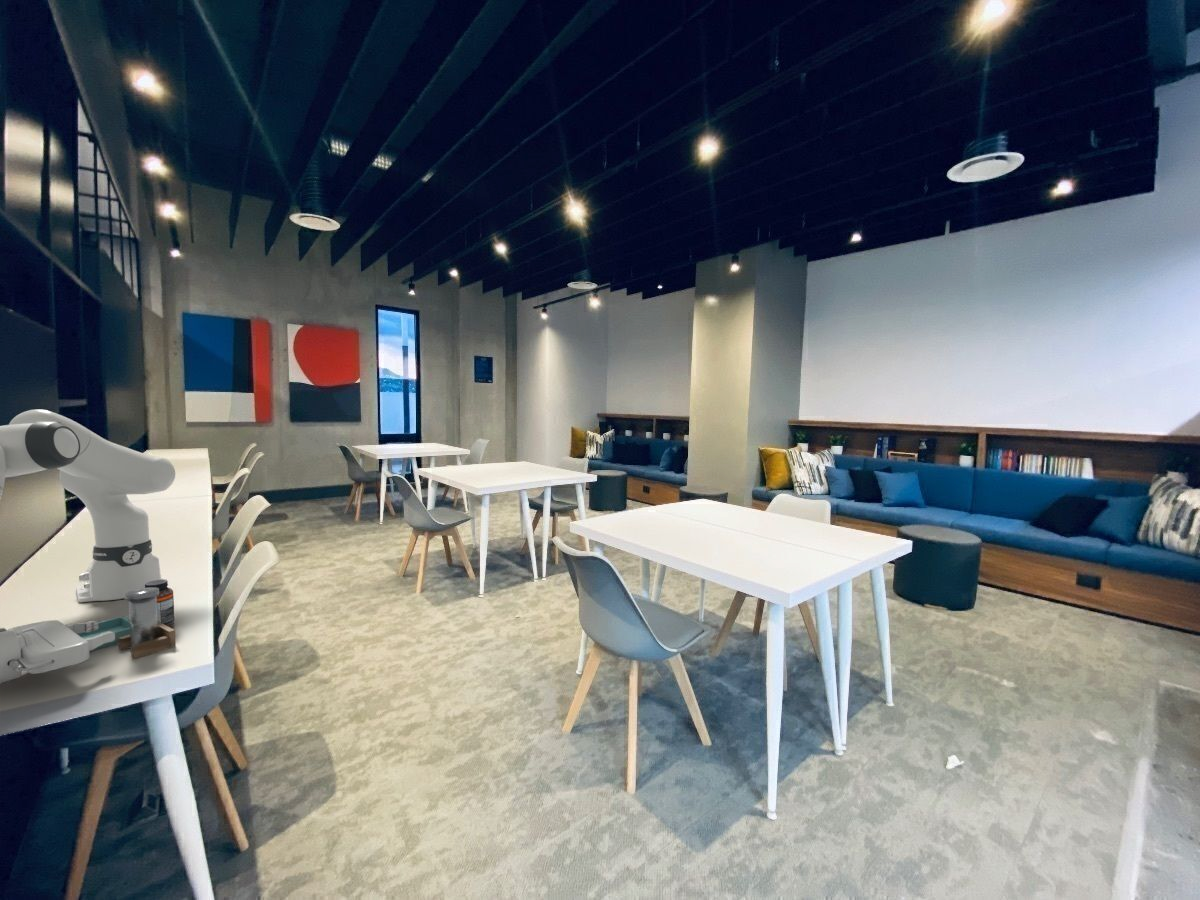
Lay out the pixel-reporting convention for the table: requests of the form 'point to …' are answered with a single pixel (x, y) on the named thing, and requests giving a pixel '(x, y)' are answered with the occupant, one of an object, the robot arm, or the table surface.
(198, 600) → the table surface
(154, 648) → the bracket
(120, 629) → the tray
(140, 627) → the pin
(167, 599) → the supplement bottle
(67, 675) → the table surface
